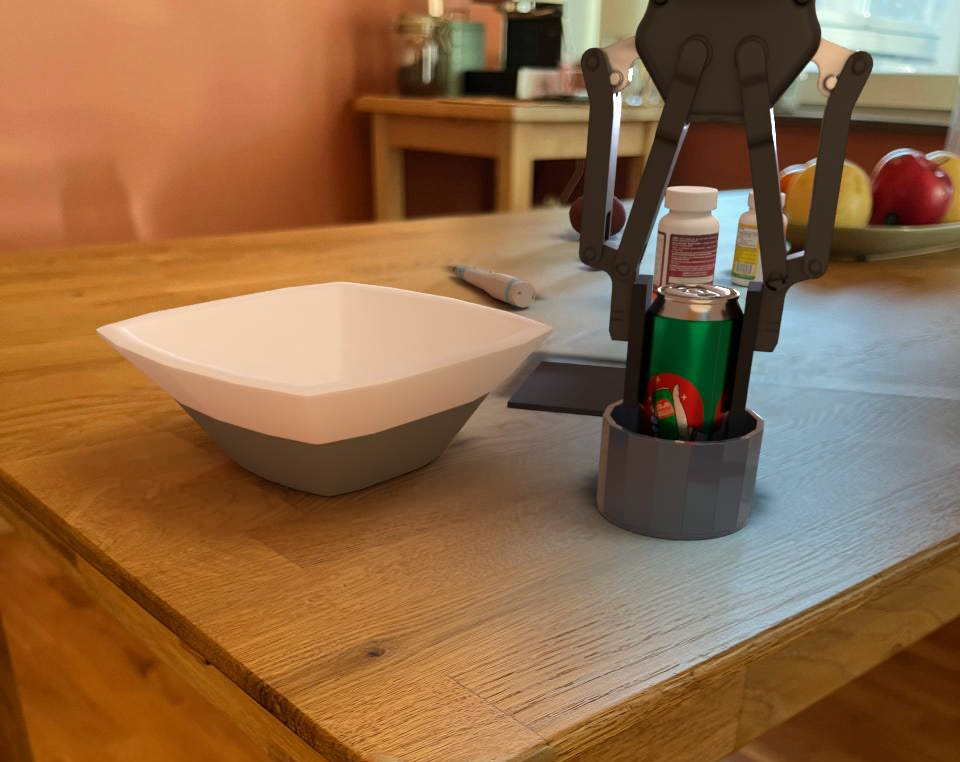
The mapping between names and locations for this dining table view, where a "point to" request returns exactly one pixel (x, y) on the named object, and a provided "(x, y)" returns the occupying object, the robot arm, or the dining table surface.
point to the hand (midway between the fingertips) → (684, 403)
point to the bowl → (329, 376)
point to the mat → (570, 388)
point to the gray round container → (677, 478)
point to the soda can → (689, 362)
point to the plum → (616, 221)
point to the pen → (499, 285)
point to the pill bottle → (687, 237)
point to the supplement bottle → (749, 247)
